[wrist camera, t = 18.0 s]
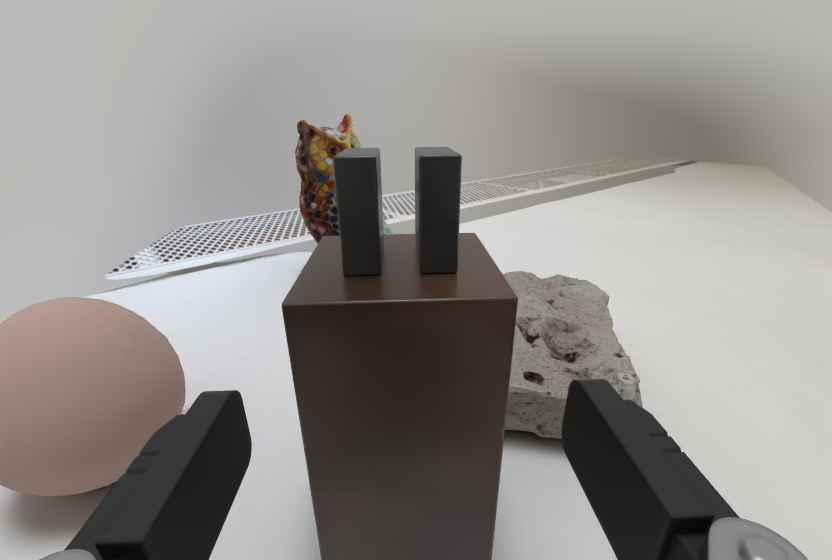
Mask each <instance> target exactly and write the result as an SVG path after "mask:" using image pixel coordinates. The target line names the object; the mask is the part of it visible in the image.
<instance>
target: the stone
mask: <svg viewBox="0 0 832 560" xmlns="http://www.w3.org/2000/svg"><path fill="white" fill-rule="evenodd" d="M503 276H504V277H505V279H506V280H507V282H508V283H509V285H510V286H511V288H512V289H513V291H514V292H515V294H516V295H517V297H518V307H517V317H516V326H515V336H514V346H513V355H512V365H511V375H510V384H509V394H508V403H507V413H506V423H505V430H510V429H512V430H514V431H516V430H522V431H529V432H534V433H536V434H537V435H538V436H540V437H547V438H558V439H562V436H561V429H562V422H563V417H564V411H565V405H566V400H567V394H568V388H569V384H570V382H571V381H572V380H580V379H606V380H607V381H608V382H609V383H610V384H611V385H612V386H613V388H614V389H615V390H616V392H617V393H618V394H619V395H620V397H621V398H622V399H623V400H632V401H633V402H635V403H636V404H637V405H639V406H640V407H642V401H641V394H640V389H639V382H640V380H639V378H638V376H637V374H636V372H635V370H634V368H633V366H632V363H631V360H630V357H629V356H628V355H626V354H625V351H624V350H623V348H622V346H621V344H620V343H618V340H617V337H616V335H615V333H614V332H613V330H612V327H613V322H612V318H611V317H610V313H609V309H608V307H607V305H608V301H609V296H608V295H607V294H606V293H605V292H604V291H602V290H601V289H599V288H598V287H597V286H596V285H594V284H592V283H590V282H589V281H587V280H578V279H574V278H569V277H566V276H562V275H555V276H553V277H549V278H544V279H540V278H538V277H536V275H534V274H532V273H528V272H522V271H519V272H510V273H505V274H504V275H503ZM642 408H643V407H642Z"/></svg>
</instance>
